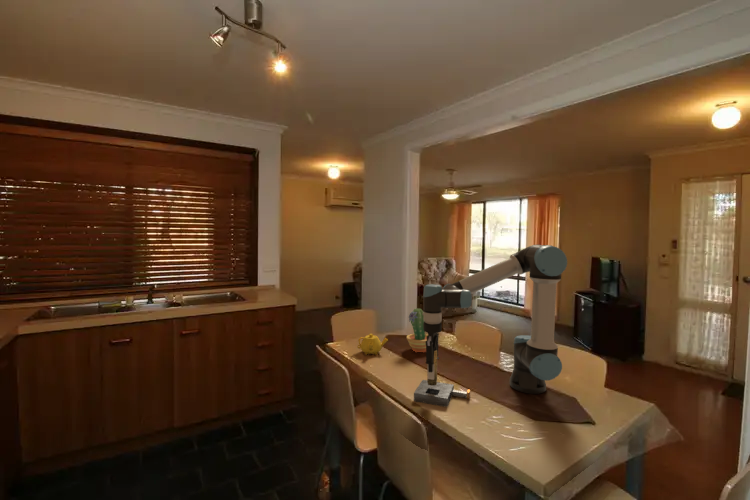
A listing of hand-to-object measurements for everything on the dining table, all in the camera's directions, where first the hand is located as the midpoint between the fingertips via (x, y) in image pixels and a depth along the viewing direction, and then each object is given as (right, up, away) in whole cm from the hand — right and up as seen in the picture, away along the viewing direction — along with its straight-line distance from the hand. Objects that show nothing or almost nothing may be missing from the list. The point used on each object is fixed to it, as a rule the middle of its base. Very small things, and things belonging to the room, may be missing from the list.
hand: (432, 376), depth 146 cm
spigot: (0, -3, 0) cm, 3 cm away
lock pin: (+10, -10, +4) cm, 14 cm away
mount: (+1, -10, +3) cm, 10 cm away
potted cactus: (+3, -7, +62) cm, 63 cm away
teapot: (-25, -8, +58) cm, 64 cm away
